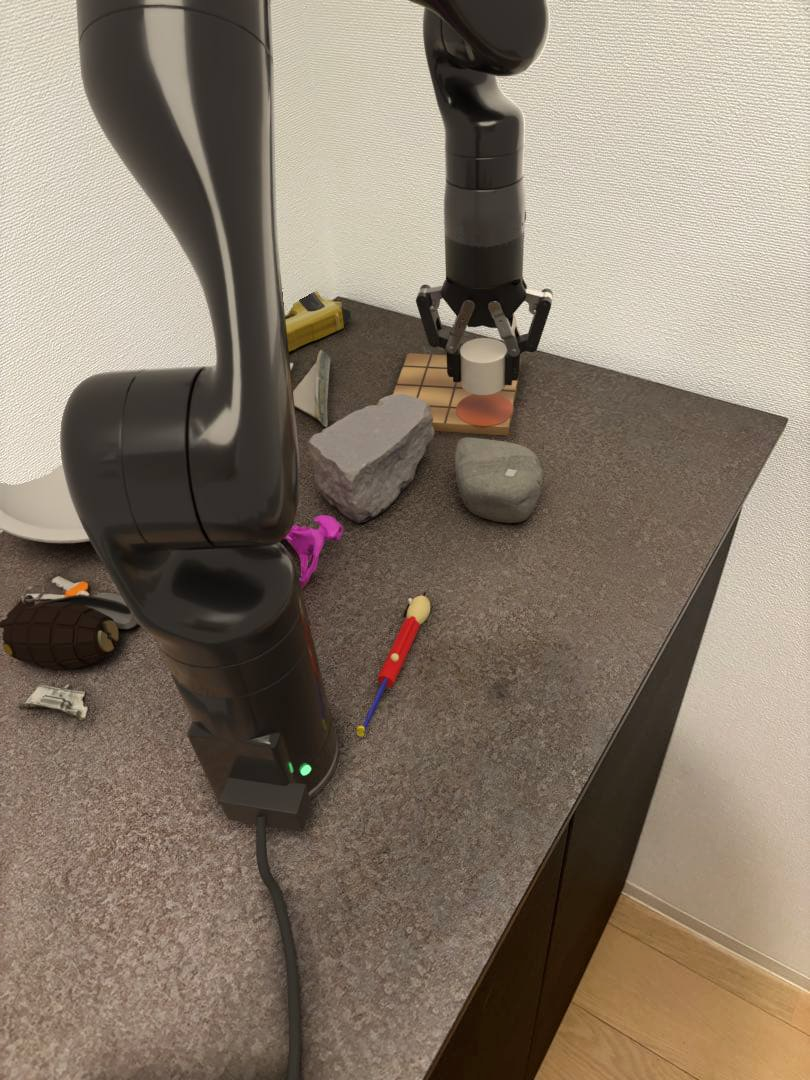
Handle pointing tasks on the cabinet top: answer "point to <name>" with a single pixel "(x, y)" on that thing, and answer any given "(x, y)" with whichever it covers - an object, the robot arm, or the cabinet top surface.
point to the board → (455, 398)
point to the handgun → (313, 319)
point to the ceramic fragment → (314, 390)
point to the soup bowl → (41, 510)
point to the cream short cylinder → (483, 366)
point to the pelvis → (313, 542)
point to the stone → (497, 479)
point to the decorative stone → (371, 455)
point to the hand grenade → (60, 630)
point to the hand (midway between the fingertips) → (483, 379)
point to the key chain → (80, 589)
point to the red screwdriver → (399, 650)
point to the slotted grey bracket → (57, 700)
